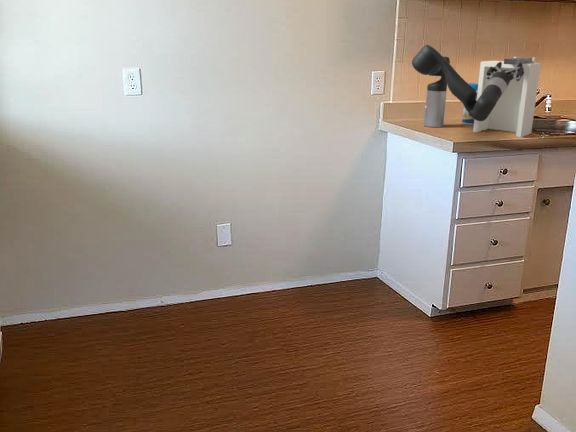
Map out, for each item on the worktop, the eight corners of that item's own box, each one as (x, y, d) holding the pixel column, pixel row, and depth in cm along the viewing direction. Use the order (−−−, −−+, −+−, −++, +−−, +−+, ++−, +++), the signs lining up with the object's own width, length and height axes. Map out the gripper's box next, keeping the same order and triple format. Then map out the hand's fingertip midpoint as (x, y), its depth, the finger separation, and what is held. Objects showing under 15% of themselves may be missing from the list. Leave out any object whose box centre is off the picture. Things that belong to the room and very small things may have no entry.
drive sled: (503, 63, 268) (504, 58, 267) (521, 62, 286) (521, 57, 286) (515, 64, 265) (515, 59, 264) (532, 62, 283) (532, 57, 283)
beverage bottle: (480, 123, 317) (485, 83, 311) (475, 125, 310) (480, 84, 305) (464, 122, 322) (468, 82, 316) (459, 123, 315) (463, 83, 309)
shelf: (473, 131, 292) (481, 55, 282) (485, 127, 304) (493, 55, 294) (520, 137, 279) (530, 58, 269) (531, 133, 292) (541, 57, 281)
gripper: (481, 91, 264) (495, 70, 272) (515, 94, 256) (528, 72, 264) (479, 76, 259) (493, 55, 267) (514, 78, 251) (527, 56, 259)
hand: (510, 63), depth 266 cm, fingers open, 8 cm apart
